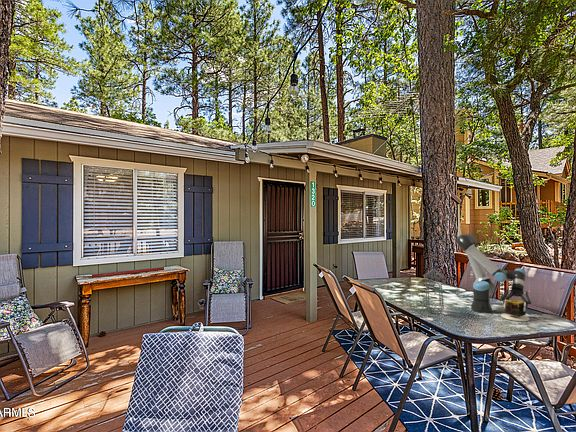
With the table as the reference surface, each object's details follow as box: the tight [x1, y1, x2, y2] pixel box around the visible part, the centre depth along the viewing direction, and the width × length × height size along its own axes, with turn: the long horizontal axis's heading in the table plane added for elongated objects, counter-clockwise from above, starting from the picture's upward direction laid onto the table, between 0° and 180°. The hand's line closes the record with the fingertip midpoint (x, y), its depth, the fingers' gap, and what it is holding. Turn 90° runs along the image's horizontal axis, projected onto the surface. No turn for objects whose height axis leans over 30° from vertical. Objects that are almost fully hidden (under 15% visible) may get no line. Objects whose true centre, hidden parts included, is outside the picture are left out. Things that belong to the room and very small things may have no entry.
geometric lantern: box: [423, 268, 445, 315], centre depth 267 cm, size 16×16×35 cm
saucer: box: [500, 312, 531, 322], centre depth 250 cm, size 18×18×1 cm
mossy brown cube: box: [504, 298, 527, 317], centre depth 250 cm, size 10×10×10 cm
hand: (514, 309), depth 248 cm, fingers closed on mossy brown cube, 12 cm apart
